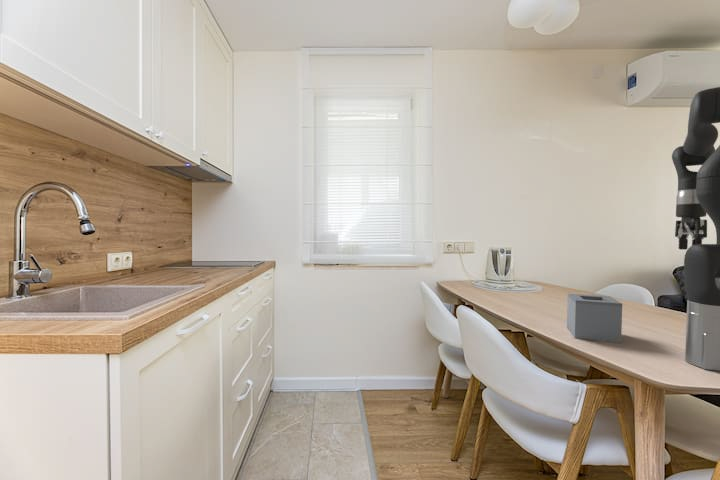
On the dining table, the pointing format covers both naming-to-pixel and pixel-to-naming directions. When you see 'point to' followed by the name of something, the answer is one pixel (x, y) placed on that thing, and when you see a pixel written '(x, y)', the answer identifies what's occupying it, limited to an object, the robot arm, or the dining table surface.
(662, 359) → the dining table surface
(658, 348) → the dining table surface
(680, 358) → the dining table surface
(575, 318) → the drop box
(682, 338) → the dining table surface
